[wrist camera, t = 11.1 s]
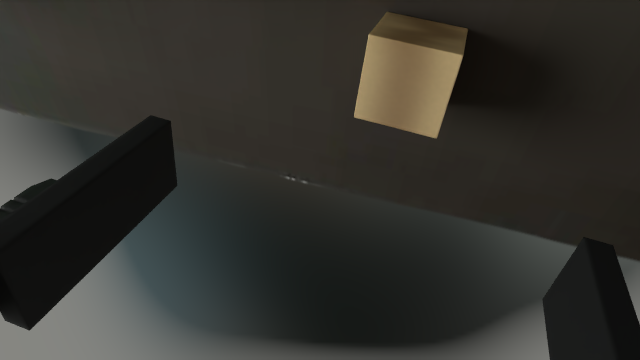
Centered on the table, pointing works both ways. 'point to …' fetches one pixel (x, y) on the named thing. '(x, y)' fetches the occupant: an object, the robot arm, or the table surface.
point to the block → (409, 73)
